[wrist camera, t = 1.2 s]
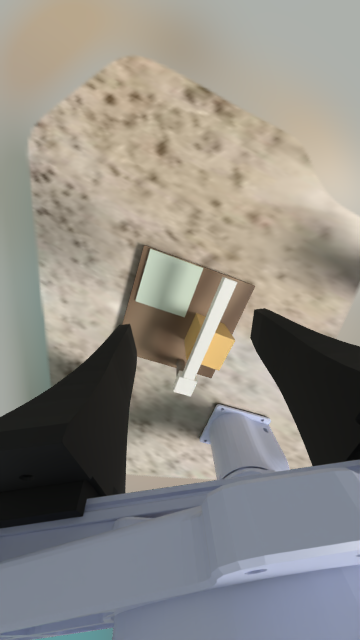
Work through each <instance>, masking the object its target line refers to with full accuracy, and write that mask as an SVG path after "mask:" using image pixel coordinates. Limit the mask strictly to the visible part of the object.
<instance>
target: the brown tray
mask: <svg viewBox="0 0 360 640" xmlns="http://www.w3.org/2000/svg"><path fill="white" fill-rule="evenodd" d="M150 249H153V250H156V251H158V252H161V253H164V254H167V253H165V252H162V251H159V250H157V249H154V248H151V247H148V246H146V245H144V248H143V252H142V255H141V259H140V262H139V266H138V270H137V273H136V277H135V280H134V284H133V288H132V291H131V295H130V299H129V302H128V306H127V309H126V313H125V317H124V320H123V324H122V325H124V324H130V325H131V329H132V333H133V337H134V341H135V345H136V349H137V357H141V358H144V359H148V360H151V361H154V362H158V363H161V364H165V365H168V366H171V367H175V368H177V375H178V373H179V370H180V371H183V370H184V368H185V366H186V363H187V361H188V360H187V359H186V353H185V342H184V339H185V337H186V335H187V332H188V330H189V328H190V326H191V324H192V321H193V319H194V317H195V315H196V313H198V314H200V315H203V316H205V317H206V315H207V313H208V310H209V308H210V306H211V303H212V301H213V298H214V296H215V294H216V291H217V289H218V286H219V284H220V282H221V279H222V277H225V278H228V279H231V280H234V281H236V282H237V284H236V287H235V289H234V291H233V293H232V296H231V298H230V300H229V302H228V305H227V307H226V309H225V311H224V314H223V316H222V318H221V320H220V322H221V323H223V324H225V325H226V327H227V329H228V330H229V332H230V333H231V335H232V334H233V332H234V330H235V327H236V325H237V323H238V321H239V319H240V317H241V315H242V313H243V311H244V309H245V306H246V304H247V302H248V300H249V298H250V296H251V294H252V292H253V290H254V288H255V286H254V285H251V284H249V283H246V282H243V281H241V280H238V279H235V278H232V277H230V276H227V275H224V274H222V273H219V272H216V271H213V270H211V269H208V268H205V267H203V266H200V265H197V264H194V263H192V262H189V261H186V260H184V259H181V258H178V257H175V256H173V255H170V254H167V255H169V256H172V257H175V258H177V259H180V260H183V261H186V262H188V263H191V264H194V265H196V266H199V267H202V268H203V271H202V273H201V276H200V278H199V281H198V284H197V286H196V289H195V292H194V294H193V297H192V299H191V302H190V305H189V307H188V310H187V313H186V315H185V317H182V316H179V315H176V314H173V313H170V312H167V311H164V310H161V309H158V308H155V307H151V306H148V305H145V304H142V303H139V302H136V297H137V294H138V290H139V287H140V283H141V280H142V276H143V273H144V269H145V266H146V263H147V259H148V256H149V252H150ZM214 372H215V369H213V368H210V367H207V366H204V365H200V368H199V370H198V372H197V374H199V375H202V376H206V377H209V378H212V376H213V374H214Z"/></svg>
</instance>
